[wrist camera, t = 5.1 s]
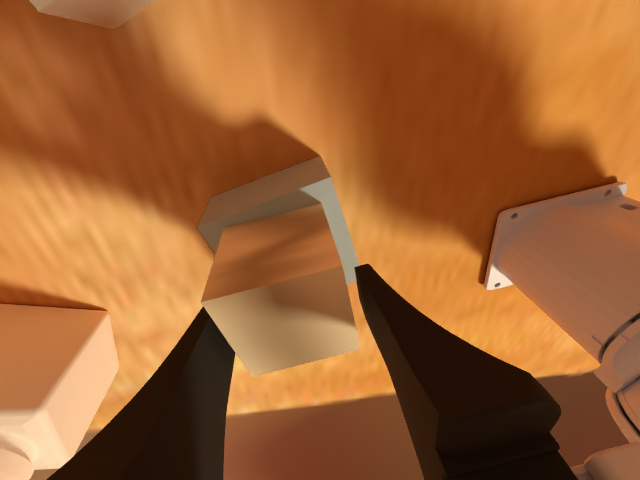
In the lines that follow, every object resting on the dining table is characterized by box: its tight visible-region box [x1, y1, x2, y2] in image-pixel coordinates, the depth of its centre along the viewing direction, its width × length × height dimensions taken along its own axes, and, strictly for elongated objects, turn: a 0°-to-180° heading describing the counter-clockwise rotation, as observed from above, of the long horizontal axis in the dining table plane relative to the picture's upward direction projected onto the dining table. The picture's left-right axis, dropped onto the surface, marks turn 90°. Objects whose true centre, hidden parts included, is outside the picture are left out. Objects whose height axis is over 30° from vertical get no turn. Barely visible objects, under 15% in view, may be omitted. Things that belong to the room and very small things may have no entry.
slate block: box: [196, 156, 360, 285], centre depth 16 cm, size 7×7×4 cm
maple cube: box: [201, 203, 360, 377], centre depth 13 cm, size 5×5×5 cm
